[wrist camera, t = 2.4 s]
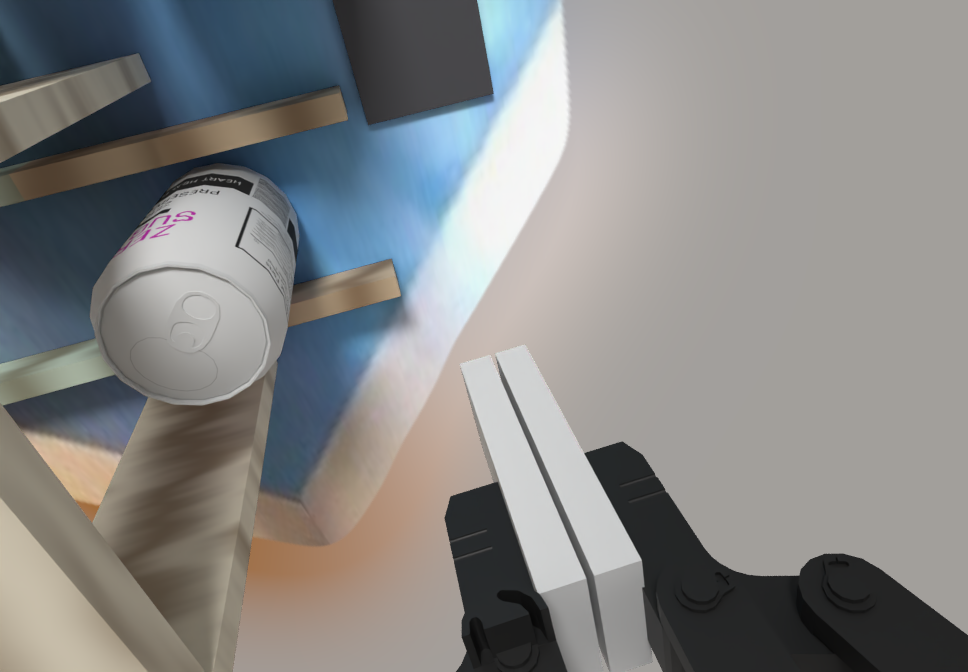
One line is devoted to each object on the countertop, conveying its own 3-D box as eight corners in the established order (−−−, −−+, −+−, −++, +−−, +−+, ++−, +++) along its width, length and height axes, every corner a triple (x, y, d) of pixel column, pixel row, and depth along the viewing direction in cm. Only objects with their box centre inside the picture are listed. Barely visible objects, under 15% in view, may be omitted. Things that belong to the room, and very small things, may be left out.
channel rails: (339, 85, 37) (339, 92, 35) (397, 277, 44) (401, 295, 41) (-187, 214, 35) (-228, 232, 32) (-41, 397, 42) (-65, 424, 39)
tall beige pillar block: (138, 53, 34) (-258, 194, 11) (277, 363, 45) (220, 756, 22) (-11, 88, 34) (-750, 312, 11) (167, 393, 45) (-10, 831, 22)
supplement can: (271, 302, 43) (245, 437, 30) (143, 252, 40) (53, 380, 27) (320, 198, 40) (314, 299, 27) (187, 135, 37) (110, 217, 24)
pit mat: (465, -55, 35) (466, -56, 35) (492, 92, 39) (493, 93, 39) (326, -23, 34) (325, -23, 34) (368, 123, 39) (368, 125, 38)
